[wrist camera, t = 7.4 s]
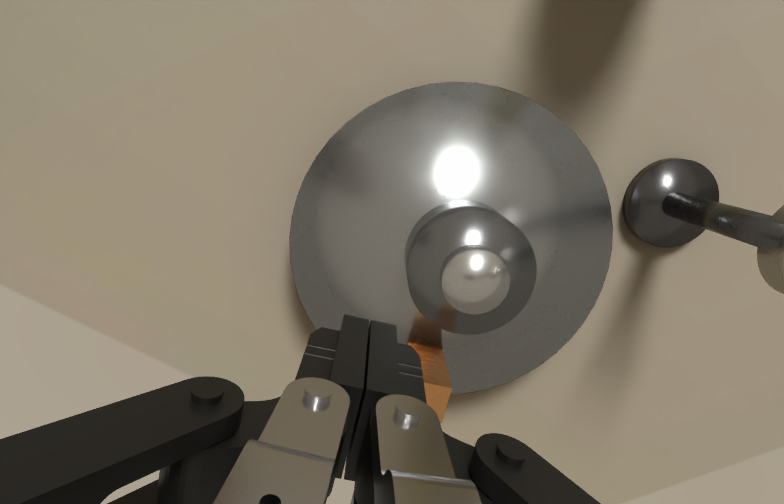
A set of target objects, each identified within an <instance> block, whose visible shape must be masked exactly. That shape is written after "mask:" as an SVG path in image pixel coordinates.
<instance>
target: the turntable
mask: <svg viewBox="0 0 784 504" xmlns="http://www.w3.org/2000/svg"><path fill="white" fill-rule="evenodd" d="M456 200H472V201H477V202H481V203H484V204H486V205H488V206H490V207H492V208H494V209H495V210H497V211H498V212H499V213H501V214H502V215H503V216H504V217H505V218H507V219H508V220H509V221H510V222H511V223H513V224H514V225H515V226H516V227H517V228H519V229H520V230H521V231H522V233H523V234H524V235H525V236H526V238H527V239H528V241H529V242H530V244H531V246H532V249H533V251H534V255H535V258H536V265H537V275H536V282H535V286H534V290H533V292H532V295H531V297H530V299H529V300H528V302H527V304H526V305H525V307H524V308H523V309H522V311H521V312H520V313H519V314H518V315H517V316H516V317H515V318H513V319H512V320H511V321H510V322H508V323H507V324H505V325H503V326H502V327H500V328H498V329H495V330H493V331H490V332H487V333H482V334H475V335H462V334H455V333H451V332H448V331H445V330H443V329H440V328H438V327H437V326H435V325H433V324H432V323H431V322H429V321H428V320H427V319H426V318H425V317H424V316H423V315H422V314H421V313H420V312H419V310H418V309H417V308H416V306H415V304H414V302H413V300H412V298H411V295H410V292H409V288H408V282H407V275H406V268H405V247H406V243H407V240H408V237H409V235H410V232H411V230H412V229H413V227H414V226H415V224H416V223H417V222H418V221H419V219H420V218H421V217H422V216H424V215H425V214H426V213H427V212H428V211H430V210H431V209H433V208H435V207H437V206H439V205H441V204H444V203H446V202H451V201H456ZM612 235H613V225H612V215H611V206H610V202H609V198H608V194H607V190H606V186H605V184H604V181H603V178H602V176H601V173H600V171H599V168H598V166H597V165H596V163H595V161H594V159H593V158H592V156H591V154H590V153H589V151H588V149H587V148H586V147H585V145H584V144H583V143H582V141H581V140H580V139H579V138H578V136H577V135H576V134H575V133H574V132H573V131H572V130H571V129H570V128H569V127H568V126H567V125H566V124H565V123H564V122H563V121H562V120H561V119H560V118H559V117H557V116H556V115H555V114H553V113H552V112H550V111H549V110H547V109H546V108H545V107H543V106H542V105H540V104H538V103H536V102H534V101H532V100H530V99H529V98H527V97H525V96H523V95H521V94H518V93H515V92H512V91H509V90H506V89H503V88H500V87H496V86H490V85H485V84H480V83H468V82H446V83H436V84H428V85H424V86H420V87H415V88H411V89H407V90H404V91H402V92H399V93H397V94H394V95H392V96H389V97H386V98H384V99H382V100H381V101H379V102H377V103H375V104H373V105H372V106H370V107H368V108H366V109H364V110H363V111H362V112H360V113H359V114H358V115H356V116H355V117H354V118H352V119H351V120H350V121H348V122H347V123H346V124H345V125H344V126H343V127H342V128H341V129H340V130H339V131H338V132H337V133H336V134H335V135H334V136H333V137H332V138H331V139H330V140H329V141H328V142H327V144H326V145H325V146H324V148H323V149H322V150H321V151H320V153H319V154H318V155H317V157H316V158H315V160H314V162H313V163H312V165H311V167H310V169H309V170H308V172H307V174H306V176H305V178H304V180H303V183H302V185H301V188H300V190H299V193H298V195H297V199H296V202H295V206H294V210H293V214H292V220H291V229H290V261H291V267H292V274H293V279H294V282H295V285H296V289H297V292H298V295H299V298H300V300H301V302H302V305H303V307H304V309H305V311H306V313H307V315H308V317H309V318H310V320H311V322H312V323H313V325H314V326H315V328H316V330H318V329H319V328H321V327H324V328H329V329H333V330H338V331H340V329H341V325H342V320H343V316H344V314H346V315H351V316H356V317H360V318H365V319H369V324H370V321H371V320H375V321H380V322H384V323H389V324H394V325H396V327H397V343H401V344H406V345H411V346H412V347H413V348H414V350H415V351H416V352H417V353H418V355H419V356H420V360H421V369H422V374H423V381H424V388H425V395H426V402H427V405H429V406H430V407H431V408H432V409H433V410H434V411H435V412H436V414H437V415H438V418H439V421H440V423H442V419H443V416H444V413H445V410H446V407H447V403H448V400H449V397H450V394H459V393H470V392H475V391H480V390H484V389H489V388H492V387H495V386H498V385H501V384H504V383H507V382H509V381H511V380H514V379H516V378H518V377H520V376H522V375H525V374H526V373H528V372H529V371H531V370H533V369H534V368H536V367H538V366H539V365H541V364H542V363H544V362H545V361H546V360H548V359H549V358H550V357H551V356H553V355H554V354H555V353H557V352H558V351H559V350H560V349H561V348H562V347H563V346H564V345H565V344H566V343H567V342H568V341H569V340H570V339H571V338H572V337H573V335H574V334H575V333H576V332H577V330H578V329H579V328H580V327H581V325H582V324H583V323H584V321H585V320H586V318H587V316H588V315H589V313H590V311H591V310H592V308H593V307H594V305H595V303H596V300H597V298H598V296H599V294H600V292H601V290H602V287H603V284H604V281H605V278H606V274H607V271H608V268H609V262H610V257H611V251H612ZM368 328H369V327H368Z"/></svg>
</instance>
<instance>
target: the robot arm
mask: <svg viewBox="0 0 784 504" xmlns="http://www.w3.org/2000/svg"><path fill="white" fill-rule="evenodd" d="M368 327H369V328H368ZM346 457H347V458H346ZM345 461H346V466H345V475H344V479H346V480H352V481H355V487H354V488H355V489H354V493H353V497H352V500H351V504H600V503H599V502H598V501H596V500H595V499H594V498H593V497H591V496H590V495H589V494H588V493H586V492H585V491H584V490H583V489H581V488H580V487H579V486H578V485H576V484H575V483H574V482H572V481H571V480H570V479H569V478H567V477H566V476H565V475H564V474H562V473H561V472H560V471H559V470H557V469H556V468H555V467H554V466H552V465H551V464H550V463H548V462H547V461H546V460H545V459H543V458H542V457H541V456H540V455H538V454H537V453H536V452H535V451H533V450H532V449H531V448H530V447H528V446H527V445H525V444H524V443H522V442H521V441H519V440H517V439H515V438H512V437H510V436H507V435H503V434H497V433H490V434H485V435H483V436H481V437H480V438H479V439H478V440H477V442H476V445H475V447H473V446H471V445H469V444H466V443H464V442H462V441H459V440H457V439H455V438H453V437H451V436H449V435H447V434H446V433H444V432H443V431H442V428H441V425H440V421H439V418H438V415H437V414H436V412H435V411H434V410H433V409H432V408H431V407H430V406H429V405H427V402H426V395H425V388H424V381H423V374H422V369H421V360H420V356H419V355H418V353H417V352H416V351H415V350H414V348H413V347H412V346H411V345H406V344H401V343H397V327H396V325H394V324H389V323H384V322H380V321H375V320H371V321H370V324H369V319H365V318H360V317H356V316H351V315H346V314H344V316H343V320H342V325H341V329H340V331H338V330H333V329H329V328H324V327H321V328H319V329H318V330H316V331H315V332H313V333H312V334H311V335H310V338H309V341H308V344H307V347H306V350H305V353H304V355H303V358H302V361H301V364H300V367H299V370H298V373H297V376H296V378H295V381H293V382H291V383H290V384H288V385H287V387H286V388H285V390H284V392H283V394H282V396H281V397H278V398H275V399H272V400H266V401H244V394H243V391H242V390H241V388H240V387H239V386H237V385H236V384H235V383H233V382H231V381H229V380H226V379H222V378H218V377H196V378H191V379H187V380H184V381H181V382H178V383H174V384H171V385H168V386H165V387H162V388H159V389H156V390H153V391H150V392H146V393H143V394H140V395H137V396H134V397H131V398H128V399H125V400H121V401H118V402H115V403H112V404H109V405H106V406H103V407H100V408H96V409H93V410H90V411H87V412H84V413H81V414H78V415H75V416H72V417H69V418H65V419H62V420H59V421H56V422H53V423H50V424H47V425H43V426H40V427H37V428H34V429H31V430H28V431H25V432H22V433H19V434H15V435H12V436H9V437H6V438H3V439H0V504H100V503H101V502H102V501H103V500H104V499H105V498H106V497H107V496H108V495H109V494H111V493H112V492H114V491H115V490H117V489H119V488H121V487H123V486H125V485H127V484H129V483H132V482H134V481H136V480H138V479H140V478H142V477H145V476H147V475H149V474H151V473H153V472H155V471H158V470H160V473H159V479H158V480H156V481H154V482H152V483H150V484H148V485H146V486H143V487H141V488H139V489H137V490H135V491H133V492H131V493H129V494H127V495H124V496H123V497H120V498H118V499H116V500H114V501H112V502H110V503H108V504H325V503H326V500H327V498H328V496H329V495H330V493H331V491H332V488H333V484H334V480H335V478H340V479H341V477H342V472H343V469H344V465H345Z"/></svg>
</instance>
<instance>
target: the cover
mask: <svg viewBox="0 0 784 504" xmlns="http://www.w3.org/2000/svg"><path fill="white" fill-rule="evenodd" d="M405 268H406V275H407V282H408V288H409V292H410V295H411V298H412V300H413V302H414V304H415V306H416V308H417V309H418V310H419V312H420V313H421V314H422V315H423V316H424V317H425V318H426V319H427V320H428V321H429V322H431V323H432V324H433V325H435V326H437V327H438V328H440V329H443V330H445V331H448V332H451V333H455V334H462V335H475V334H482V333H487V332H490V331H493V330H495V329H498V328H500V327H502V326H503V325H505V324H507V323H508V322H510V321H511V320H512V319H513V318H515V317H516V316H517V315H518V314H519V313H520V312H521V311H522V309H523V308H524V307H525V305H526V304H527V302H528V300H529V299H530V297H531V295H532V292H533V290H534V286H535V282H536V275H537V265H536V258H535V255H534V251H533V249H532V246H531V244H530V242H529V241H528V239H527V238H526V236H525V235H524V234H523V233H522V231H521V230H520V229H519V228H517V227H516V226H515V225H514V224H513V223H511V222H510V221H509V220H508V219H507V218H505V217H504V216H503V215H502V214H501V213H499V212H498V211H497V210H495V209H494V208H492V207H490V206H488V205H486V204H484V203H481V202H477V201H472V200H456V201H451V202H446V203H444V204H441V205H439V206H437V207H435V208H433V209H431V210H430V211H428V212H427V213H426V214H425V215H424V216H422V217H421V218H420V219H419V221H418V222H417V223H416V224H415V226H414V227H413V229H412V230H411V232H410V235H409V237H408V240H407V243H406V247H405Z"/></svg>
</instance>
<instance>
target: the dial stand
mask: <svg viewBox="0 0 784 504" xmlns="http://www.w3.org/2000/svg"><path fill="white" fill-rule="evenodd" d="M623 214H624V219H625V221H626V224H627V226H628V227H629V229H630V230H631V232H632V233H633V234H634V235H636V236H637V237H638V238H640V239H642V240H644V241H646V242H648V243H650V244H652V245H655V246H659V247H675V246H680V245H683V244H685V243H688V242H690V241H692V240H693V239H695V238H696V237H698V236H699V235H700V234H701V233H702V232H703V231H704V230H705V229H707V230H710V231H713V232H716V233H719V234H722V235H725V236H728V237H730V238H733V239H736V240H739V241H742V242H745V243H748V244H751V245H753V246H756V247H758V249H757V261H758V267H759V270H760V273H761V275H762V277H763V278H764V280H765V281H766V282H767V283H768V284H769V285H770V286H771V287H772V288H773V289H775V290H777V291H778V292H780V293H783V294H784V206H782V207H781V208H780V209H779V210H778V211H777V212H776V213H775V214H774V215H773V216H770V215H766V214H762V213H758V212H754V211H750V210H746V209H742V208H739V207H735V206H731V205H727V204H723V203H719V190H718V185H717V182H716V180H715V178H714V176H713V175H712V173H711V172H710V171H709V170H708V169H707V168H706V167H705V166H703V165H702V164H700V163H698V162H695V161H691V160H685V159H678V158H669V159H663V160H659V161H657V162H654V163H652V164H650V165H648V166H647V167H645V168H644V169H643V170H641V171H640V172H639V173H638V174H637V175H636V176H635V178H634V179H633V180H632V181H631V183H630V185H629V187H628V189H627V191H626V194H625V197H624V202H623Z"/></svg>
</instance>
